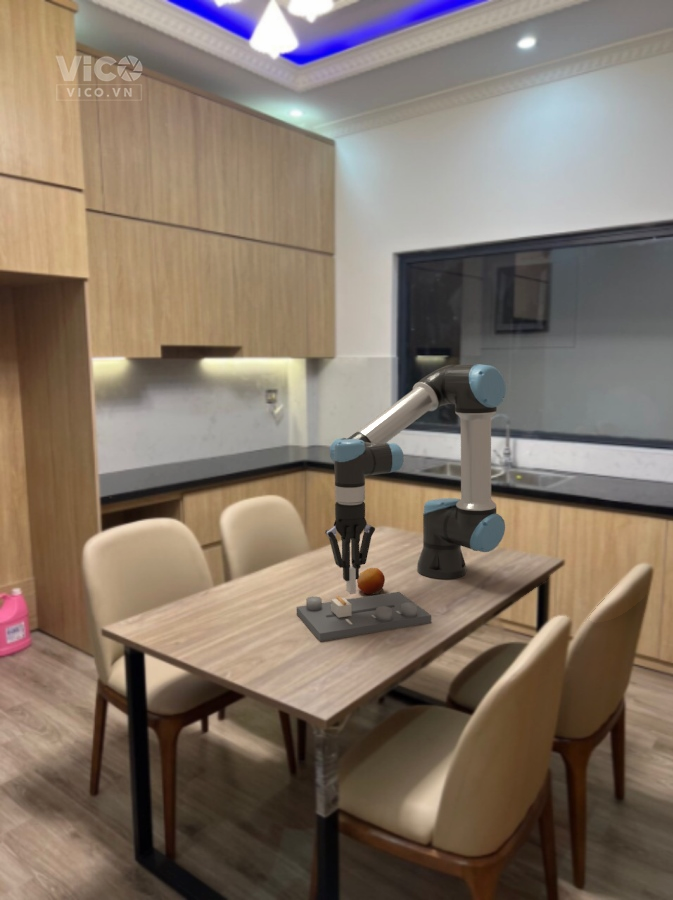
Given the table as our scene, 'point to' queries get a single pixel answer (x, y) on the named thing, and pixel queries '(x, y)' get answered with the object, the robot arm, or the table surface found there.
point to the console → (362, 616)
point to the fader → (340, 607)
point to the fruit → (371, 581)
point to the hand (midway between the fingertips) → (351, 591)
